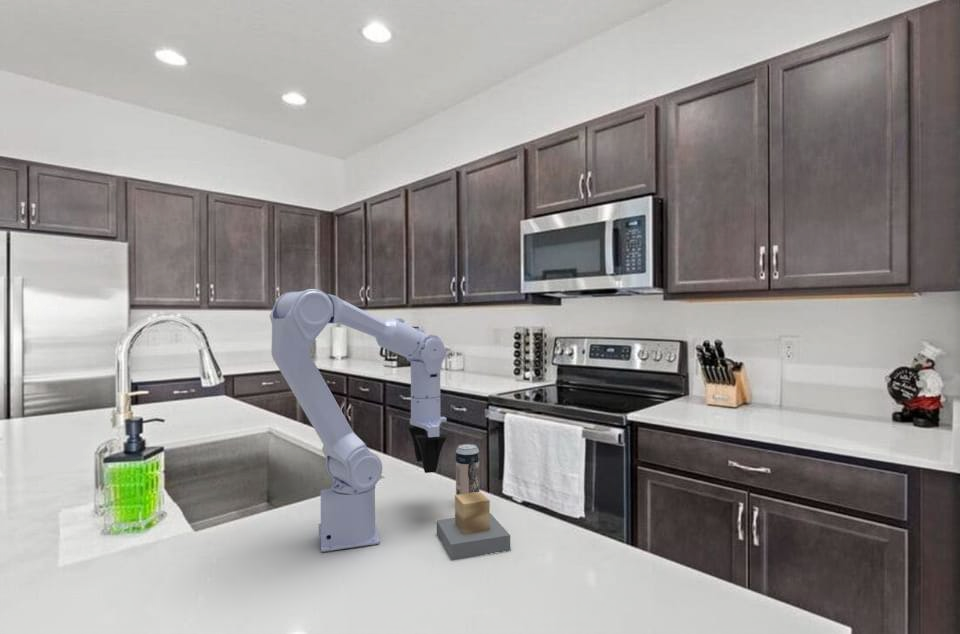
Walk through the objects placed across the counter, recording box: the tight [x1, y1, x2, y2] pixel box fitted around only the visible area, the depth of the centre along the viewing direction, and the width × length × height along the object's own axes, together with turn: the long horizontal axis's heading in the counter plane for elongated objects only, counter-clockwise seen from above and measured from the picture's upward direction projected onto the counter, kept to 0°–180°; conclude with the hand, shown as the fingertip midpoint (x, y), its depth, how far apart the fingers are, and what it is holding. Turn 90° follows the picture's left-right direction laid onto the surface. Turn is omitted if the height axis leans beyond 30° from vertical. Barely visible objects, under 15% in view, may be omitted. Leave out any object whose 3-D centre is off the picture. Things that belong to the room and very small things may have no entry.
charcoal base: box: [436, 512, 511, 561], centre depth 83 cm, size 10×10×3 cm
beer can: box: [455, 443, 480, 495], centre depth 100 cm, size 5×5×12 cm
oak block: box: [454, 491, 491, 535], centre depth 83 cm, size 5×5×5 cm
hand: (426, 466), depth 95 cm, fingers open, 7 cm apart
